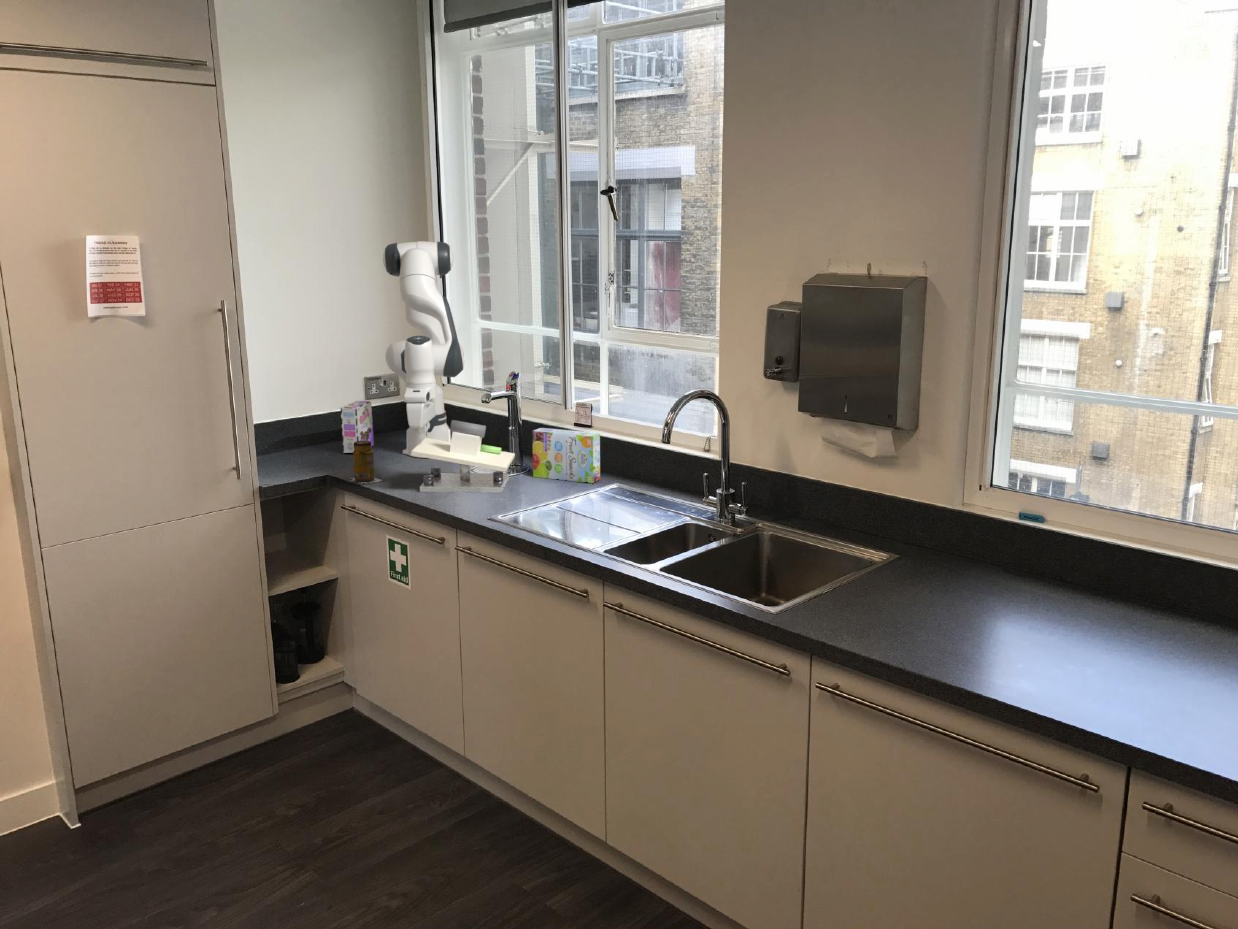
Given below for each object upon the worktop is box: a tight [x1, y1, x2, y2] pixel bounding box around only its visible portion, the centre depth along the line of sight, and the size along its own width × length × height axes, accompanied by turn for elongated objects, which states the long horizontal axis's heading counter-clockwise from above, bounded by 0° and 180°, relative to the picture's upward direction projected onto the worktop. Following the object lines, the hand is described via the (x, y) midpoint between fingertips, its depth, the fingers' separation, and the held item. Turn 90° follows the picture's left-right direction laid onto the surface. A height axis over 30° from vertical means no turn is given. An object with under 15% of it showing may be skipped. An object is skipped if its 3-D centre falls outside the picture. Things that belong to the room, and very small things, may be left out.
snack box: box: [531, 427, 601, 484], centre depth 310 cm, size 21×6×15 cm, turn 65°
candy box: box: [340, 400, 375, 453], centre depth 349 cm, size 14×6×16 cm, turn 171°
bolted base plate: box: [419, 464, 510, 493], centre depth 304 cm, size 24×16×8 cm, turn 88°
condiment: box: [350, 441, 383, 485], centre depth 309 cm, size 7×8×12 cm
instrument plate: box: [411, 419, 516, 472], centre depth 301 cm, size 28×18×10 cm, turn 88°
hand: (423, 437), depth 301 cm, fingers closed
